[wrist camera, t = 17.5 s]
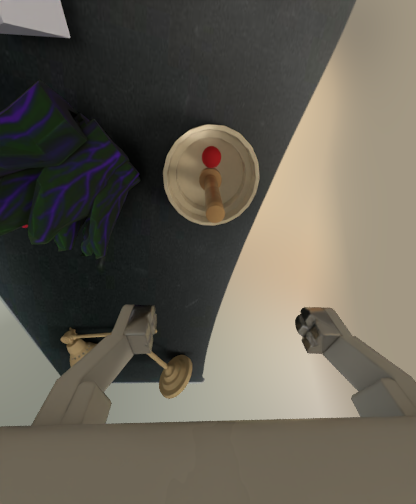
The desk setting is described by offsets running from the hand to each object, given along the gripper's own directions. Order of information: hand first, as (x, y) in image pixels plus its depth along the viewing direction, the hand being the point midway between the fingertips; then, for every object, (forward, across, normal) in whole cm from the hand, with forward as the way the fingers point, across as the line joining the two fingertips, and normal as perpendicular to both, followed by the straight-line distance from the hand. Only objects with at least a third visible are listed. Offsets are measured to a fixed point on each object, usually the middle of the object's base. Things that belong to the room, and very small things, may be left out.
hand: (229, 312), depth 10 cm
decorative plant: (+29, +25, +2) cm, 39 cm away
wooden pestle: (+28, 0, 0) cm, 29 cm away
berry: (+27, 0, -4) cm, 27 cm away
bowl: (+29, 0, 0) cm, 29 cm away
